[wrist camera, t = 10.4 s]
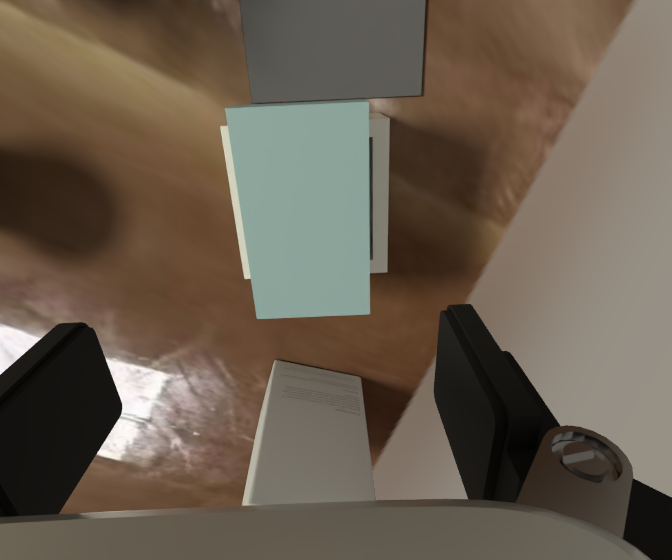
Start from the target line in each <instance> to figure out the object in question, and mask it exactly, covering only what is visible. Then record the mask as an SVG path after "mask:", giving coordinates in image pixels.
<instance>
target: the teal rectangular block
mask: <svg viewBox="0 0 672 560" xmlns="http://www.w3.org/2000/svg"><path fill="white" fill-rule="evenodd" d="M225 111H226V118H227V124H228V131H229V138H230V144H231V151H232V157H233V164H234V171H235V177H236V184H237V190H238V197H239V204H240V210H241V217H242V223H243V230H244V237H245V243H246V250H247V256H248V263H249V270H250V276H251V283H252V289H253V296H254V302H255V309H256V316H257V319H271V318H294V317H317V316H339V315H362V314H370V225H369V102H368V101H366V100H363V99H359V100H338V101H317V102H295V103H274V104H252V105H239V106H234V107H229V108H225Z"/></svg>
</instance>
